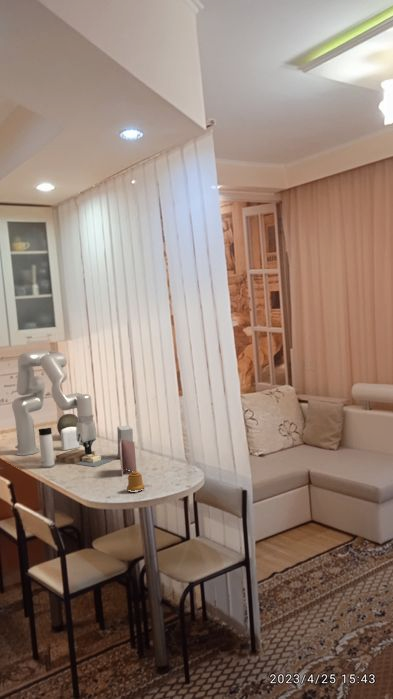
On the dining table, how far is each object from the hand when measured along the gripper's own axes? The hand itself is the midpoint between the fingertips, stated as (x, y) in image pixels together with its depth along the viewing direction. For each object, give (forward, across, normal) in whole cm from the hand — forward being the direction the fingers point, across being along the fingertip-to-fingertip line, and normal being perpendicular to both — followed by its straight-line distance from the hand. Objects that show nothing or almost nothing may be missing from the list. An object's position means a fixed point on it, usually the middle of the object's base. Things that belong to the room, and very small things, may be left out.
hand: (88, 454), depth 299 cm
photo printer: (+4, -15, -30) cm, 34 cm away
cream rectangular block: (+3, 0, +2) cm, 4 cm away
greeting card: (+4, +7, +34) cm, 35 cm away
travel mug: (+4, +16, -13) cm, 21 cm away
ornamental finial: (+4, +26, +55) cm, 61 cm away
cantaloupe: (+4, -33, -51) cm, 61 cm away
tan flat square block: (+4, 0, -10) cm, 11 cm away
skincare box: (+4, -13, +14) cm, 19 cm away
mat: (+4, 0, +4) cm, 6 cm away
